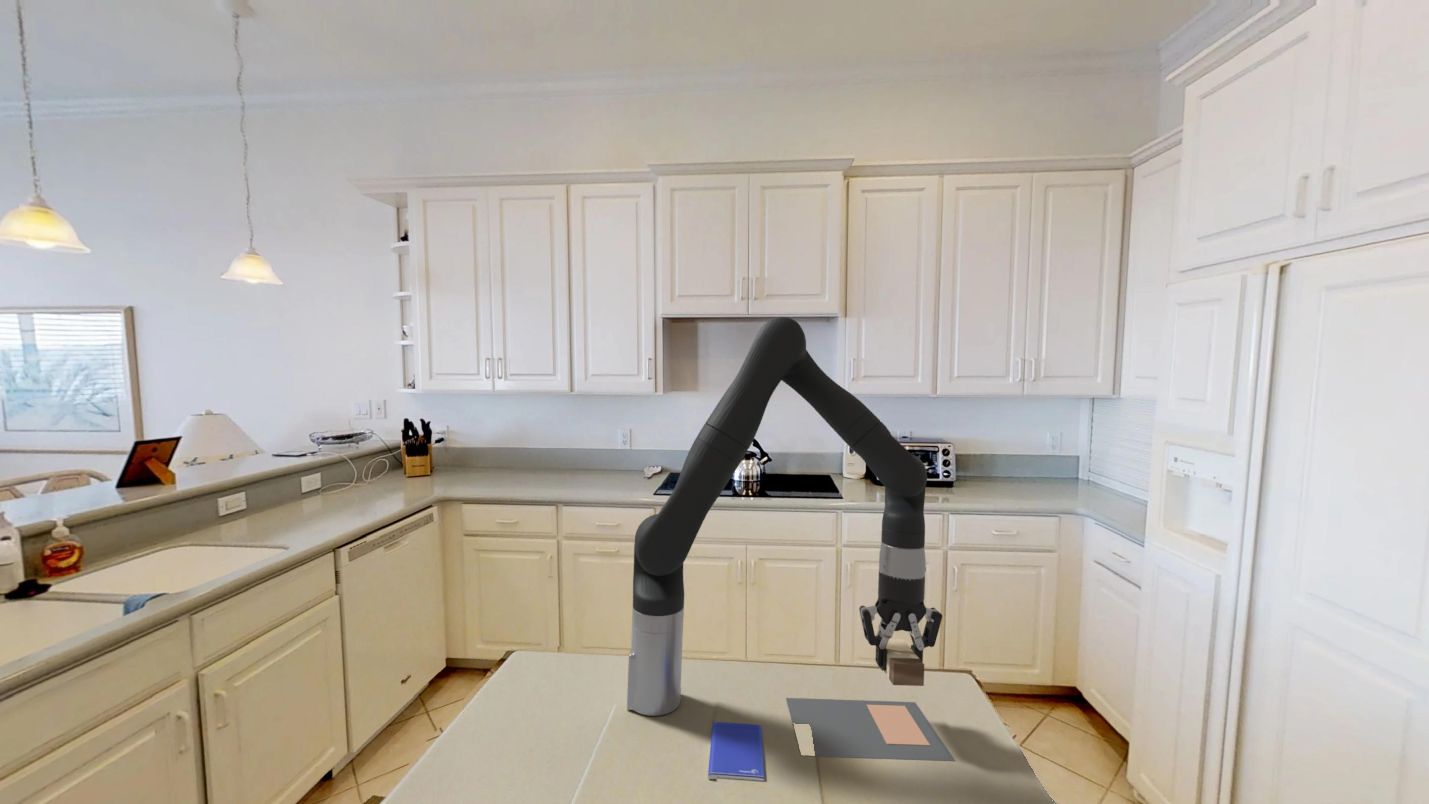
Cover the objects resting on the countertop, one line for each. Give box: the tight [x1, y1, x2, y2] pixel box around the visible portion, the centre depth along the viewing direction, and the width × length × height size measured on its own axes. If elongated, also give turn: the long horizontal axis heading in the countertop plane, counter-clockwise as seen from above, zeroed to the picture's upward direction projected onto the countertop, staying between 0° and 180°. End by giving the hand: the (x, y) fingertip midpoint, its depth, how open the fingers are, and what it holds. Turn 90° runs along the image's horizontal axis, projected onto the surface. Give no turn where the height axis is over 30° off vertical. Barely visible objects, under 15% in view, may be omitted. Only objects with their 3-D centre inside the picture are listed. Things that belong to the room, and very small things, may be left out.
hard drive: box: [707, 721, 766, 782], centre depth 82 cm, size 2×8×12 cm
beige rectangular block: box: [883, 638, 925, 687], centre depth 90 cm, size 9×5×4 cm, turn 1°
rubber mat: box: [785, 697, 956, 762], centre depth 89 cm, size 24×16×1 cm, turn 90°
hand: (898, 668), depth 90 cm, fingers closed on beige rectangular block, 5 cm apart
